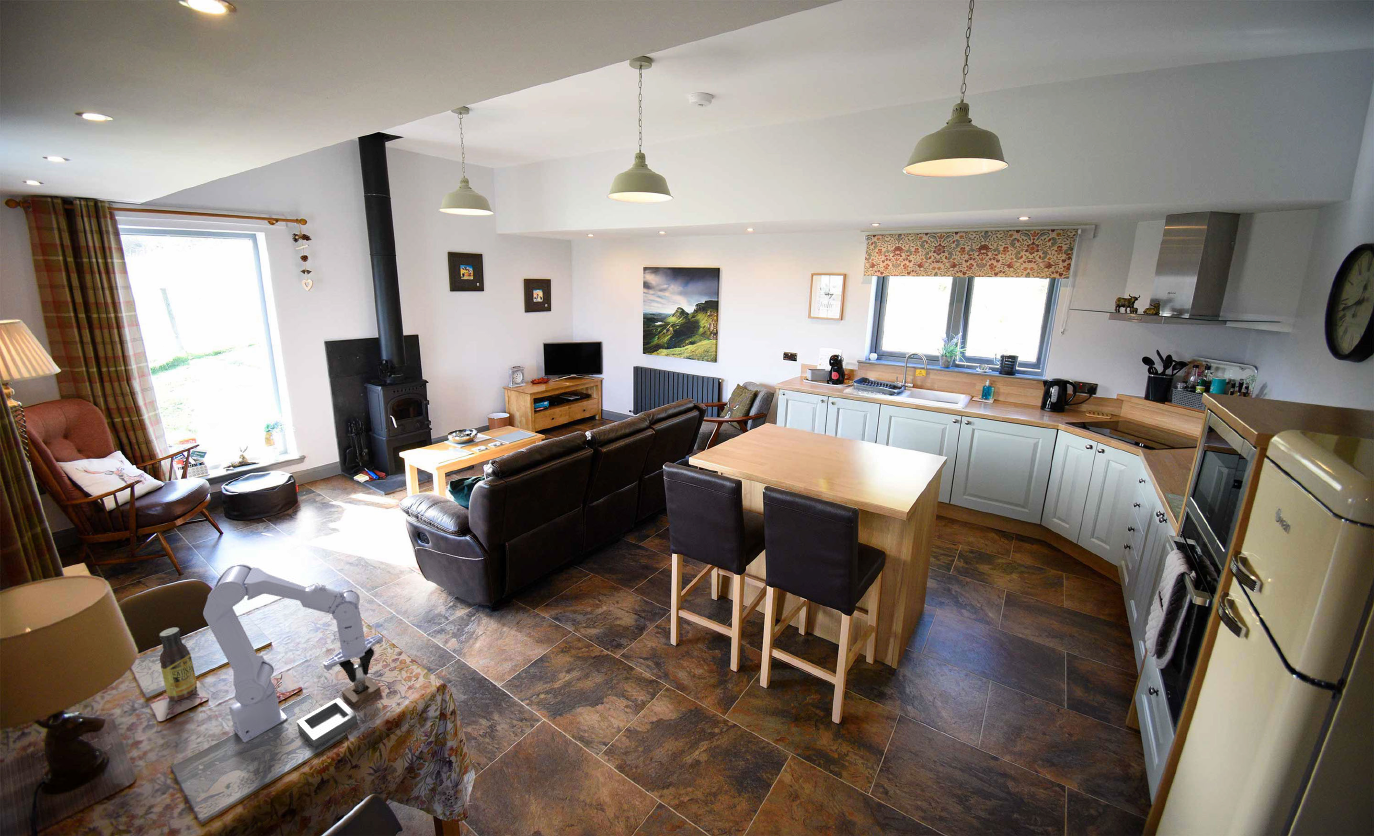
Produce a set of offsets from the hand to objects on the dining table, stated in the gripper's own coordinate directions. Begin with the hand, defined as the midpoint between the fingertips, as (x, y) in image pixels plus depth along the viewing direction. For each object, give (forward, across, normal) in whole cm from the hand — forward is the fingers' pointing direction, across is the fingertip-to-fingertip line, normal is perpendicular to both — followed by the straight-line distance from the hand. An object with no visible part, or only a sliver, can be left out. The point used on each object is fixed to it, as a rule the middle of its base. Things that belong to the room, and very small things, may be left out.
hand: (358, 677), depth 151 cm
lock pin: (+3, 0, 0) cm, 3 cm away
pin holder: (+6, 0, 0) cm, 6 cm away
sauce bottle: (+6, -28, +41) cm, 50 cm away
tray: (+6, -10, -4) cm, 13 cm away
